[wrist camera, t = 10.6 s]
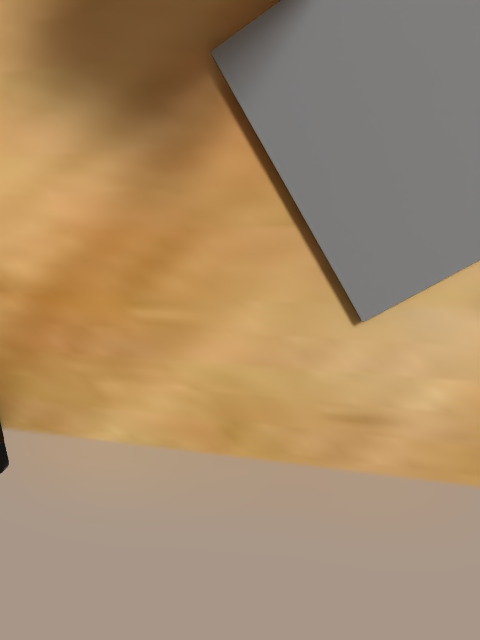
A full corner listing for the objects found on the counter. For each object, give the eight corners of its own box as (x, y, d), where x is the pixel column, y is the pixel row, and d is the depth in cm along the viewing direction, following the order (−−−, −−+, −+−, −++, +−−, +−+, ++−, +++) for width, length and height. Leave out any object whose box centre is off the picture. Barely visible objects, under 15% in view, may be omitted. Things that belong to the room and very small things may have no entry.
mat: (361, 319, 19) (362, 322, 19) (211, 54, 17) (210, 51, 16) (653, 163, 17) (662, 162, 16) (524, -173, 14) (531, -183, 14)
